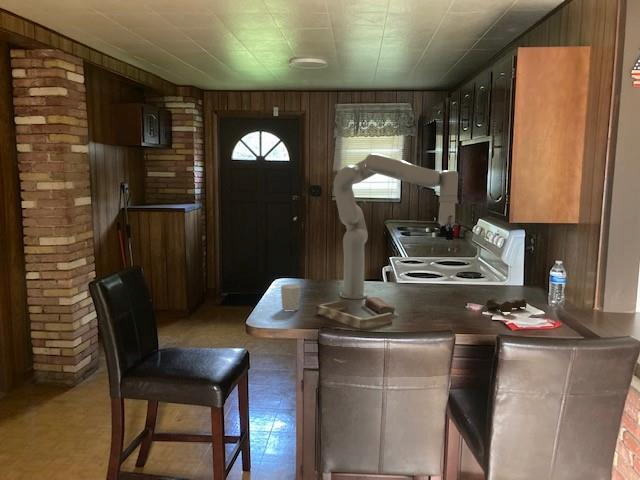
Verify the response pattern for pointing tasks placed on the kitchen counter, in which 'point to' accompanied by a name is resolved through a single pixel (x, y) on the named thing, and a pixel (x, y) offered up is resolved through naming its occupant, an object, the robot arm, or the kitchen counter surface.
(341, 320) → the wooden frame
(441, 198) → the robot arm
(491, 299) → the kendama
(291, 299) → the white cup
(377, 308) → the packaged product
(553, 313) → the kitchen counter surface
